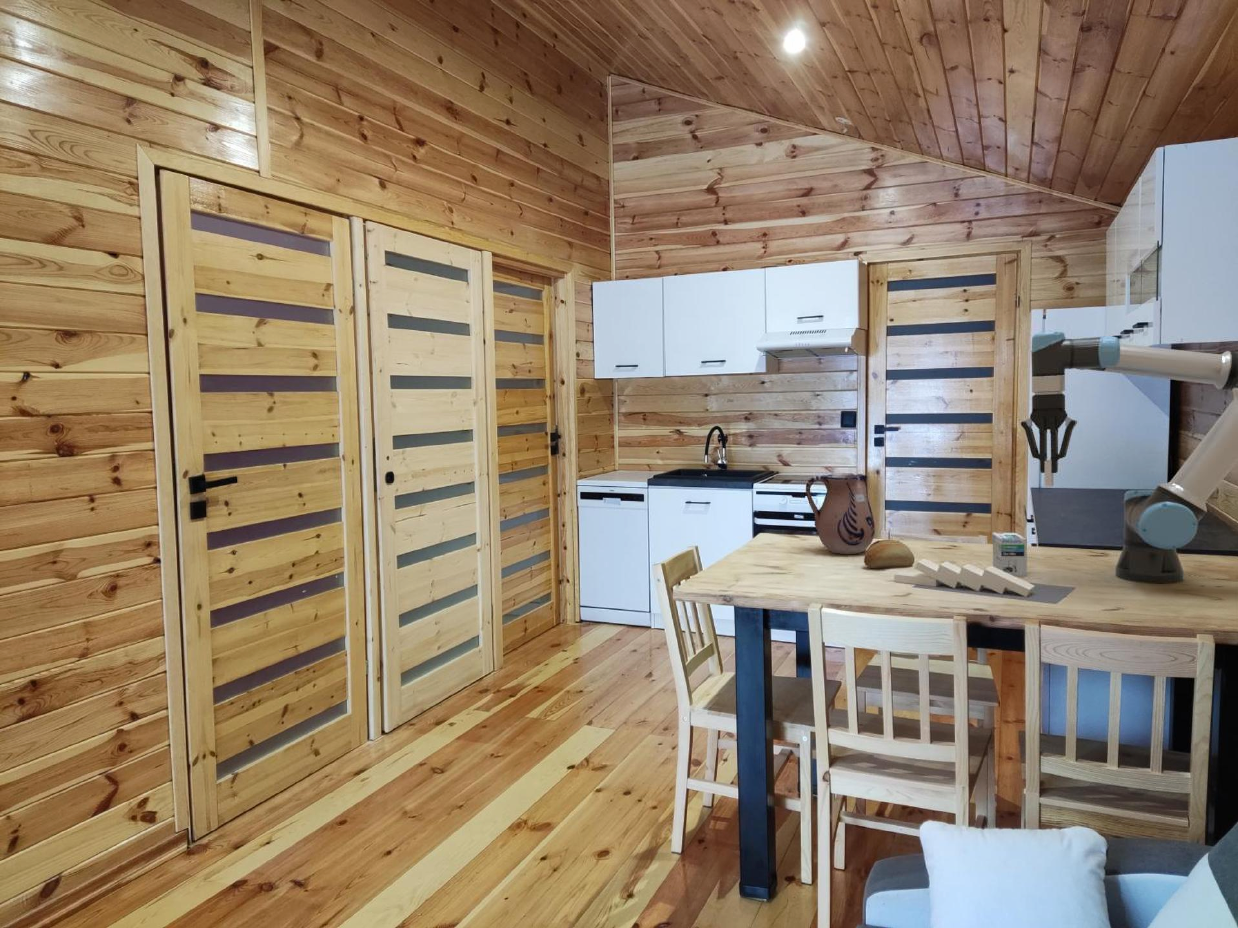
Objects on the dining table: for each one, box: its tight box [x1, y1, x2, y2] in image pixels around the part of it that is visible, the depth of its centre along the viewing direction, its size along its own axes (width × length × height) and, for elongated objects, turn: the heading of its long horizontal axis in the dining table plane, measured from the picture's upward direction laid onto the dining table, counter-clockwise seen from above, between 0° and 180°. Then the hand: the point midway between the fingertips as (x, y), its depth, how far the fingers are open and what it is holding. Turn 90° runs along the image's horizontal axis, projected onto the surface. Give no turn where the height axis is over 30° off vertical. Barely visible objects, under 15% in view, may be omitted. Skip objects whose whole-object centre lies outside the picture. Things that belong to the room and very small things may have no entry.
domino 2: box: [914, 558, 962, 588], centre depth 221 cm, size 2×5×11 cm
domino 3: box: [937, 560, 985, 591], centre depth 217 cm, size 2×5×11 cm
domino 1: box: [893, 570, 943, 587], centre depth 224 cm, size 2×5×11 cm
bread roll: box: [863, 539, 915, 569], centre depth 247 cm, size 10×15×8 cm, turn 99°
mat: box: [912, 582, 1077, 605], centre depth 216 cm, size 34×20×1 cm, turn 50°
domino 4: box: [959, 563, 1008, 594], centre depth 213 cm, size 2×5×11 cm
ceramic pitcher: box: [805, 472, 876, 555], centre depth 272 cm, size 18×21×25 cm
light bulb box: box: [992, 532, 1028, 577], centre depth 233 cm, size 11×7×11 cm, turn 168°
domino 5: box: [982, 565, 1035, 597], centre depth 210 cm, size 2×5×11 cm
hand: (1049, 485), depth 218 cm, fingers closed
